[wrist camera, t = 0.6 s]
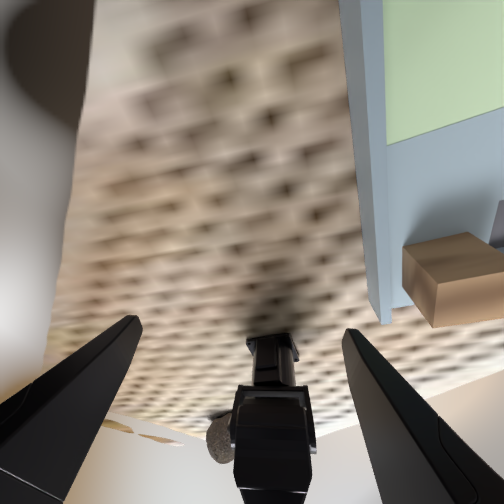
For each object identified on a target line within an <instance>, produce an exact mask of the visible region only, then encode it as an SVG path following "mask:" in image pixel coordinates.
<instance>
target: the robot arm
mask: <svg viewBox="0 0 504 504" xmlns="http://www.w3.org/2000/svg"><path fill="white" fill-rule="evenodd" d="M142 331H143V328H142V325H141V322H140V320H139V317H138V316H137V315H127V316H125V317H124V318H122V319H121V320H120V321H118V322H117V323H115V324H114V325H112V326H111V327H110V328H108V329H107V330H105V331H104V332H103V333H101V334H100V335H98V336H97V337H95V338H94V339H93V340H91V341H90V342H88V343H87V344H86V345H84V346H83V347H81V348H80V349H78V350H77V351H76V352H74V353H73V354H71V355H70V356H68V357H67V358H66V359H64V360H63V361H61V362H60V363H59V364H57V365H56V366H54V367H53V368H51V369H50V370H49V371H47V372H46V373H44V374H43V375H41V376H40V377H39V378H37V379H36V380H34V381H33V383H30V384H29V385H27V386H26V387H25V388H23V389H22V390H20V391H19V392H17V393H16V394H15V395H13V396H11V397H10V398H9V399H7V400H6V401H4V402H3V403H1V404H0V504H63V501H64V500H65V498H66V496H67V494H68V492H69V490H70V488H71V486H72V484H73V482H74V480H75V478H76V476H77V473H78V471H79V469H80V467H81V465H82V463H83V461H84V459H85V457H86V455H87V453H88V451H89V449H90V447H91V445H92V443H93V441H94V439H95V437H96V434H97V433H98V431H99V428H100V426H101V424H102V422H103V420H104V418H105V416H106V414H107V412H108V410H109V408H110V406H111V404H112V402H113V400H114V398H115V396H116V394H117V392H118V389H119V387H120V385H121V383H122V381H123V379H124V377H125V375H126V373H127V371H128V369H129V366H130V364H131V361H132V359H133V356H134V353H135V351H136V348H137V345H138V343H139V340H140V337H141V335H142ZM246 345H247V347H248V348H249V350H250V352H251V353H252V355H253V371H252V386H243V385H238V390H237V391H236V394H235V400H234V404H233V409H232V413H231V416H230V419H229V422H228V426H227V431H228V433H229V435H230V441H231V448H232V450H235V452H234V469H233V474H234V478H235V482H236V485H237V488H239V489H240V492H241V495H242V498H243V501H244V504H304V501H305V498H306V495H307V492H308V488H309V485H310V482H311V479H312V466H311V456H310V454H316V437H315V428H314V421H313V415H312V409H311V403H310V397H309V391H308V386H307V385H303V386H296V382H295V371H294V362H298V361H299V356H298V354H297V351H296V349H295V346H294V344H293V341H292V339H291V336H290V334H288V333H284V334H278V335H272V336H266V337H260V338H253V339H248V340H246ZM342 350H343V355H344V361H345V367H346V372H347V378H348V383H349V387H350V391H351V394H352V398H353V401H354V405H355V408H356V412H357V415H358V419H359V422H360V426H361V429H362V433H363V436H364V440H365V443H366V447H367V450H368V454H369V457H370V461H371V464H372V468H373V472H374V475H375V479H376V482H377V486H378V489H379V492H380V496H381V500H382V503H383V504H504V479H503V478H502V477H500V476H499V475H498V474H497V473H496V472H495V471H494V470H493V469H492V468H491V467H490V466H489V465H487V463H486V462H485V461H484V460H483V459H482V458H481V457H479V456H478V455H477V454H476V453H475V452H474V451H473V450H472V449H471V448H470V447H469V446H468V445H467V444H466V443H465V442H464V441H463V440H462V439H461V438H460V437H459V436H458V435H457V434H456V432H454V430H452V429H451V427H450V426H449V425H448V424H447V423H446V422H445V421H444V420H443V419H442V418H441V417H440V416H438V414H437V413H436V412H435V411H434V410H433V409H432V407H431V406H430V405H429V404H428V403H427V402H426V401H425V400H424V399H423V398H422V397H421V396H420V395H419V394H418V393H417V392H416V391H415V389H414V388H413V387H412V386H411V385H410V384H409V383H408V382H407V381H406V380H405V379H404V378H403V377H402V376H401V375H400V374H399V373H398V372H397V370H396V369H395V368H394V367H393V366H392V365H391V364H390V363H389V362H388V361H387V360H386V359H385V358H384V357H383V356H382V355H381V354H380V353H379V351H378V350H377V349H376V348H375V347H374V346H373V345H372V344H371V343H370V342H369V341H368V340H367V339H366V338H365V337H364V336H363V335H362V334H361V332H360V331H359V330H357V329H351V328H347V329H346V331H345V333H344V336H343V339H342Z"/></svg>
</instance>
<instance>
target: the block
mask: <svg viewBox="0 0 504 504" xmlns="http://www.w3.org/2000/svg"><path fill="white" fill-rule="evenodd" d="M402 287H403V289H404V290H405V292H406V293H407V294H408V296H409V297H410V298H411V300H412V301H413V302H414V304H415V305H416V306H417V308H418V309H419V310H420V312H421V313H422V315H423V316H424V317H425V319H426V320H427V321H428V323H429V324H430V325H431V327H432V328H438V327H445V326H452V325H459V324H466V323H473V322H480V321H487V320H494V319H501V318H504V254H503V253H501V252H500V251H498V250H497V249H495V248H493V247H492V246H490V245H489V244H487V243H485V242H484V241H482V240H481V239H479V238H477V237H476V236H474V235H473V234H471V233H469V232H464V233H459V234H455V235H451V236H446V237H442V238H438V239H433V240H429V241H424V242H420V243H416V244H411V245H407V246H403V247H402Z"/></svg>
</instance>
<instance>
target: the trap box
mask: <svg viewBox="0 0 504 504" xmlns="http://www.w3.org/2000/svg"><path fill="white" fill-rule="evenodd" d="M339 10H340V20H341V29H342V39H343V49H344V59H345V69H346V79H347V89H348V99H349V108H350V118H351V128H352V138H353V148H354V158H355V168H356V178H357V187H358V197H359V207H360V217H361V227H362V237H363V247H364V257H365V267H366V276H367V286H368V296H369V302H370V304H371V306H372V308H373V310H374V311H375V313H376V315H377V317H378V319H379V321H380V323H381V325H384V324H390V323H392V318H391V308H397V307H403V306H409V305H415V304H414V302H413V301H412V300H411V298H410V297H409V296H408V294H407V293H406V292H405V290H404V289H403V287H402V247H403V246H407V245H411V244H416V243H420V242H424V241H429V240H433V239H438V238H442V237H446V236H451V235H455V234H459V233H464V232H469V233H471V234H473V235H474V236H476V237H477V238H479V239H481V240H482V241H484V242H485V243H487V244H489V245H490V246H492V247H493V248H495V249H497V250H498V251H500V252H501V253H503V254H504V0H339Z"/></svg>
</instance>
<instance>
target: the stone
mask: <svg viewBox="0 0 504 504" xmlns="http://www.w3.org/2000/svg"><path fill="white" fill-rule="evenodd" d="M230 416H231V412H229V413H228V414H226V415H225V416H223V417H222V418H216V419H214V421H213V422H212V424H211V425H210V427H209V428H208V430H207V434H206V442H207V447H208V450H209V453H210V455H211V457H212V458H213V459H214V460H215V461H216V462H218V463H220V464H225V463H229V462H230V461H232V460H233V459H234V452H235V450H232V448H231V441H230V435H229V433H228V431H227V426H228V422H229V419H230Z"/></svg>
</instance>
